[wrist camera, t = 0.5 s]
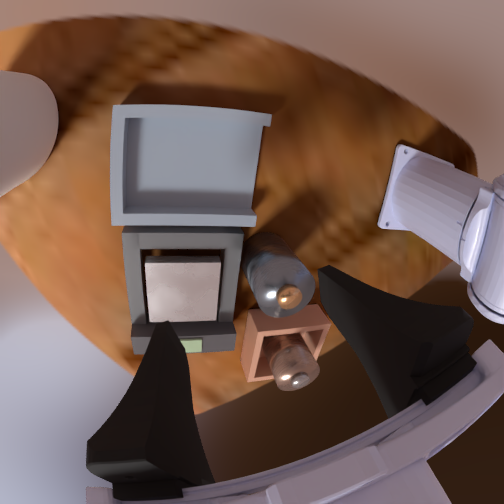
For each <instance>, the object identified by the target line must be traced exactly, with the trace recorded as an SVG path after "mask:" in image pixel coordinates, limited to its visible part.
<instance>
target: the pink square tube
mask: <svg viewBox="0 0 504 504" xmlns="http://www.w3.org/2000/svg"><path fill="white" fill-rule="evenodd" d="M330 325H331V323H330V321H329V320H328V318H327V317H326V316H325V314H324V313H323V311H322V310H321V308H320V307H319V306H318V304H313V305H306V306H305V307H304V308H303V309H302V310H300V311H299V312H297V313H295V314H293V315H290V316H287V317H281V318H277V317H271V316H268V315H266V314H265V313H264V312H263V311H262V310H261V309H249V311H248V317H247V323H246V329H245V335H244V341H243V347H242V353H241V359H240V361H241V364H242V367H243V370H244V373H245V376H246V379H247V382H253V381H260V380H268V379H274V376H273V374H272V371H271V369H270V366H269V364H268V362H267V359H266V357H265V354H264V352H263V349H262V347H261V346H262V342H263V337H264V336H273V335H283V334H291V333H299V332H300V333H301V335H302V337H303V339H304V341H305V342H306V344H307V346H308V348H309V350H310V351H311V353H312V355H313V357H314V359H315V360H316V359H317V357H318V355H319V353H320V350H321V348H322V345H323V343H324V340H325V338H326V335H327V333H328V330H329V328H330Z"/></svg>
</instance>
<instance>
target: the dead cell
mask: <svg viewBox="0 0 504 504" xmlns="http://www.w3.org/2000/svg"><path fill="white" fill-rule="evenodd" d="M261 347H262V349H263V352H264V354H265V357H266V359H267V362H268V364H269V366H270V369H271V371H272V374H273V376H274V379H275V381H276V384H277V386H278V388H279V389H281V390H284V391H292V390H296V389H300V388H302V387H304V386H306V385H308V384H309V383H311V382H312V381H313V380H314V379H315V378H316V377H317V376H318V374H319V371H320V368H319V366H318V364H317V362H316V360H315V359H314V357H313V355H312V353H311V351H310V350H309V348H308V346H307V344H306V342H305V341H304V339H303V337H302V335H301V333H300V332H299V333H291V334H283V335H273V336H264V337H263V342H262V346H261Z"/></svg>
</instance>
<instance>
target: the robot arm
mask: <svg viewBox="0 0 504 504" xmlns="http://www.w3.org/2000/svg"><path fill="white" fill-rule="evenodd" d="M404 150H405V153H404ZM386 222H387V224H386ZM378 226H379V227H380V228H382V229H397V230H410V231H412V232H414V233H415V234H417V235H418V236H420V237H421V238H423V239H424V240H426V241H427V242H428V243H430V244H431V245H433V246H434V247H436V248H437V249H438V250H440V251H441V252H443V253H444V254H445V255H447V256H448V257H450V258H451V259H452V260H454V261H455V262H456V263H458V264H459V265H460V266H461V272H460V275H461V276H462V277H463V278H464V279H465V280H467V281H468V288H467V290H468V295H469V298H470V300H471V301H472V303H473V304H474V306H475V307H476V308H477V310H478V311H479V312H480V313H481V314H482V315H484V316H485V317H487V318H488V319H490V320H492V321H494V322H497V323H501V324H504V174H502V175H500V176H499V177H497V178H495V179H494V180H493V184H491V183H489V182H487V181H484V180H482V179H480V178H478V177H475V176H473V175H471V174H468V173H466V172H463V171H461V170H458V169H456V168H454V165H453V164H451V163H449V162H447V161H444V160H442V159H439V158H437V157H434V156H432V155H429V154H427V153H424V152H421V151H419V150H416V149H413V148H411V147H408V146H405V145H402V144H399V145H398V146H397V147H396V151H395V156H394V161H393V165H392V170H391V174H390V178H389V182H388V186H387V190H386V194H385V198H384V202H383V206H382V209H381V213H380V216H379V220H378ZM318 277H319V287H320V297H321V303H322V304H323V306H324V308H325V310H326V312H327V314H328V315H329V317H330V319H331V320H332V321H333V323H334V324H335V325H336V327H337V328H338V330H339V331H340V332H341V334H342V335H343V336H344V338H345V339H346V340H347V342H348V343H349V344H350V346H351V347H352V348H353V350H354V351H355V353H356V354H357V356H358V357H359V359H360V361H361V363H362V364H363V366H364V368H365V370H366V372H367V374H368V375H369V377H370V379H371V381H372V383H373V385H374V387H375V389H376V391H377V393H378V395H379V398H380V400H381V402H382V404H383V407H384V409H385V411H386V414H387V415H388V418H389V419H388V420H386V421H384V422H382V423H381V424H379V425H377V426H375V427H373V428H371V429H369V430H367V431H365V432H363V433H361V434H360V435H357V436H355V437H353V438H351V439H349V440H347V441H345V442H343V443H340V444H338V445H336V446H334V447H331V448H329V449H327V450H324V451H322V452H319V453H317V454H314V455H312V456H309V457H307V458H304V459H301V460H299V461H296V462H293V463H290V464H287V465H284V466H281V467H278V468H275V469H271V470H268V471H264V472H261V473H258V474H254V475H250V476H246V477H242V478H238V479H234V480H229V481H224V482H219V483H215V481H214V478H213V475H212V473H211V470H210V468H209V465H208V462H207V459H206V456H205V453H204V450H203V446H202V443H201V439H200V436H199V432H198V428H197V424H196V420H195V416H194V410H193V403H192V393H191V382H190V372H189V365H188V360H187V355H186V351H185V348H184V346H183V344H182V343H181V341H180V339H179V338H178V336H177V334H176V332H175V331H174V329H173V327H172V326H171V324H170V322H169V320H167V321H164V322H160V323H157V324H156V326H155V328H154V331H153V333H152V336H151V339H150V341H149V344H148V347H147V349H146V352H145V354H144V357H143V359H142V362H141V364H140V366H139V368H138V370H137V373H136V375H135V377H134V379H133V381H132V383H131V385H130V387H129V389H128V390H127V392H126V394H125V395H124V397H123V398H122V400H121V401H120V403H119V405H118V406H117V407H116V409H115V410H114V412H113V413H112V414H111V416H110V417H109V418H108V419H107V421H106V422H105V423H104V424H103V425H102V426H101V428H100V429H99V430H98V431H97V432H96V433H95V434H94V435H93V436H92V437H91V438H90V439H89V440H88V441H87V458H86V467H87V469H88V470H89V471H90V472H91V473H93V474H94V475H96V476H98V477H100V478H102V479H104V480H107V481H109V482H111V483H112V485H113V489H111V488H104V487H86V500H87V501H86V502H87V504H451V502H450V500H449V499H448V497H447V496H446V494H445V492H444V490H443V488H442V487H441V485H440V483H439V482H438V480H437V479H436V477H435V475H434V474H433V472H432V470H431V469H430V467H429V465H428V464H427V462H426V460H427V459H429V458H430V457H432V456H433V455H435V454H436V453H437V452H439V451H440V450H441V449H442V448H444V447H445V446H446V445H448V444H449V443H450V442H451V441H453V440H454V439H455V438H456V437H457V436H459V435H460V434H461V433H462V432H463V431H465V430H466V429H467V428H468V427H469V426H470V425H471V424H472V423H474V422H475V421H476V420H477V419H478V418H479V417H480V416H481V415H482V414H483V413H484V412H485V411H486V410H487V409H488V408H490V406H492V405H493V404H494V402H495V401H496V400H497V399H498V398H499V397H500V396H501V395H502V393H503V392H504V354H503V353H502V352H501V351H500V350H499V348H498V347H497V346H496V345H495V344H494V343H493V342H492V341H491V340H488V341H487V342H485V343H484V344H483V345H482V346H481V347H480V348H479V349H478V350H477V351H476V352H475V353H474V354H473V355H472V356H471V355H470V354H469V353H468V352H469V347H468V346H467V345H466V342H467V339H468V337H469V335H470V333H471V331H472V328H473V323H474V321H473V318H472V317H471V316H470V315H469V314H468V313H466V312H465V311H464V310H463V309H462V308H461V307H455V306H441V305H433V304H427V303H422V302H417V301H413V300H409V299H405V298H402V297H398V296H395V295H392V294H389V293H387V292H384V291H382V290H379V289H377V288H374V287H372V286H370V285H368V284H365V283H363V282H361V281H359V280H357V279H355V278H353V277H351V276H349V275H348V274H346V273H344V272H342V271H340V270H338V269H336V268H334V267H332V266H330V265H328V266H325V267H322V268H320V269H318ZM378 444H379V445H378ZM376 445H378V446H376ZM263 490H264V491H263ZM259 491H261V492H259ZM255 492H258V493H255ZM251 493H255V494H252V495H247V494H251Z"/></svg>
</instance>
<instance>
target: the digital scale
mask: <svg viewBox="0 0 504 504" xmlns="http://www.w3.org/2000/svg"><path fill="white" fill-rule="evenodd" d="M243 237H244V233H243V231H242V229H241V228H240V226H174V225H125V226H124V229H123V231H122V242H123V255H124V266H125V276H126V285H127V293H128V301H129V308H130V314H131V321H132V330H131V340H132V345H133V350H134V354H145V352H146V349H147V347H148V344H149V341H150V339H151V336H152V333H153V331H154V328H155V326H156V324H157V323H160V322H150V319H149V313H147V309H146V299H145V288H144V275H143V259H142V249H221V254H220V261H221V269H220V280H219V291H218V303H217V315H216V320H212V321H184V322H170V324H171V326H172V327H173V329H174V331H175V332H176V334H177V336H178V338H179V339H180V341H181V343H182V344H183V346H184V348H185V351H186V353H203V352H219V351H232V350H234V348H235V340H236V331H235V328H234V324H233V314H234V306H235V298H236V291H237V283H238V275H239V267H240V260H241V252H242V245H243Z"/></svg>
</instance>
